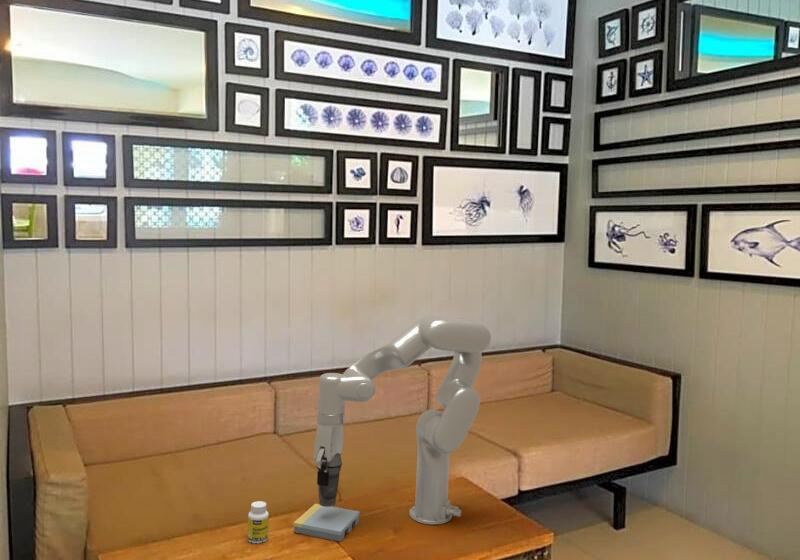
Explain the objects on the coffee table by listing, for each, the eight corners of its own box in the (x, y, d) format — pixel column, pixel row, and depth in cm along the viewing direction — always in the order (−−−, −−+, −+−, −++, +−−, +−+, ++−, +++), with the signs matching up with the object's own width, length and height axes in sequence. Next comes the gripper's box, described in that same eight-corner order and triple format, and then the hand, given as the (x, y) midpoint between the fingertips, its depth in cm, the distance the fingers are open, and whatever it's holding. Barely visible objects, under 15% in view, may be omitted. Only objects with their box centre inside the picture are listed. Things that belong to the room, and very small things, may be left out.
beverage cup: (335, 510, 183) (339, 438, 182) (310, 506, 185) (313, 436, 183) (343, 500, 190) (346, 431, 189) (319, 496, 192) (322, 428, 190)
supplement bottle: (250, 545, 175) (251, 509, 175) (245, 536, 180) (246, 501, 179) (270, 542, 178) (271, 506, 177) (264, 533, 183) (265, 498, 182)
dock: (359, 521, 192) (359, 511, 192) (340, 542, 179) (340, 531, 179) (315, 513, 197) (315, 503, 197) (293, 533, 183) (293, 522, 183)
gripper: (331, 409, 195) (328, 468, 196) (304, 424, 179) (302, 489, 180) (355, 412, 193) (352, 472, 194) (330, 428, 176) (327, 494, 178)
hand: (328, 480), depth 187 cm, fingers closed on beverage cup, 6 cm apart
